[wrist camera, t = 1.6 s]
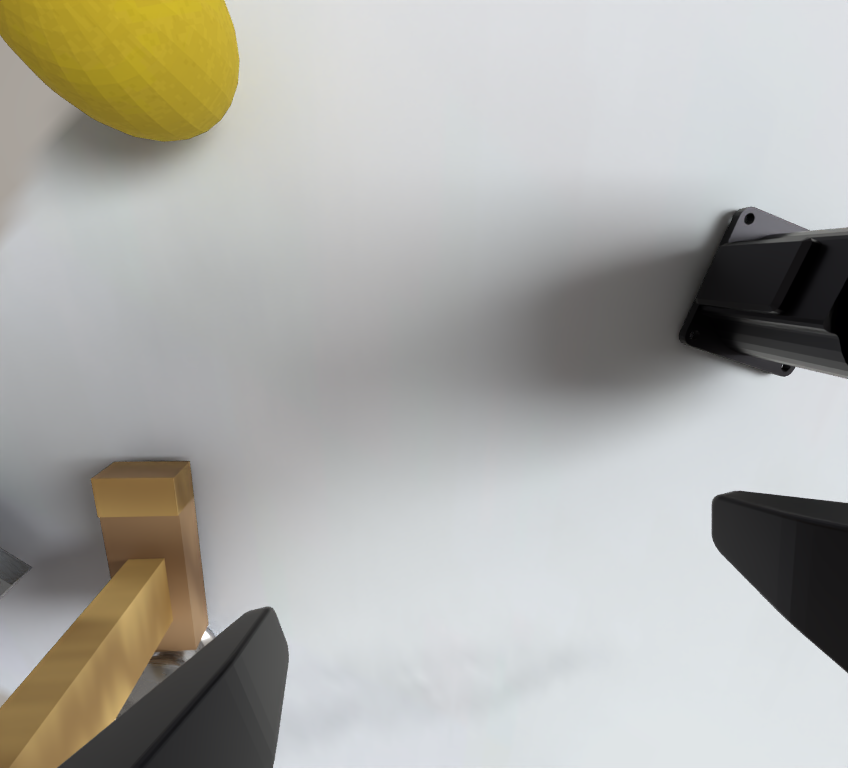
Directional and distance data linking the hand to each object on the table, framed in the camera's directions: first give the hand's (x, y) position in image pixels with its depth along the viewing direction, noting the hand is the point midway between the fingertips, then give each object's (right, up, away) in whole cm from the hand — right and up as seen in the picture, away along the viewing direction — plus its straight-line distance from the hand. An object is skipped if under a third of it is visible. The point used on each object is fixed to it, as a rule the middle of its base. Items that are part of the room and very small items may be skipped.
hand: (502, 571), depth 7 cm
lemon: (-10, +14, +9) cm, 20 cm away
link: (-14, -5, +13) cm, 20 cm away
